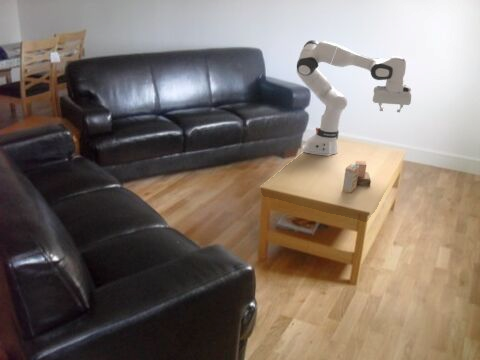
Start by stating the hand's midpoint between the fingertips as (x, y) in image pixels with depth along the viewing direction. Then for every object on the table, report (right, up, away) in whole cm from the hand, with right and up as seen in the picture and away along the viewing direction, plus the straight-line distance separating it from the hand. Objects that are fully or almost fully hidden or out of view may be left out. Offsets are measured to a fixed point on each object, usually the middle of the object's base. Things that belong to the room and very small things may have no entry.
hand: (389, 111), depth 272 cm
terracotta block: (-19, -35, -7) cm, 41 cm away
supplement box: (-26, -44, -16) cm, 53 cm away
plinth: (-19, -39, -6) cm, 44 cm away
